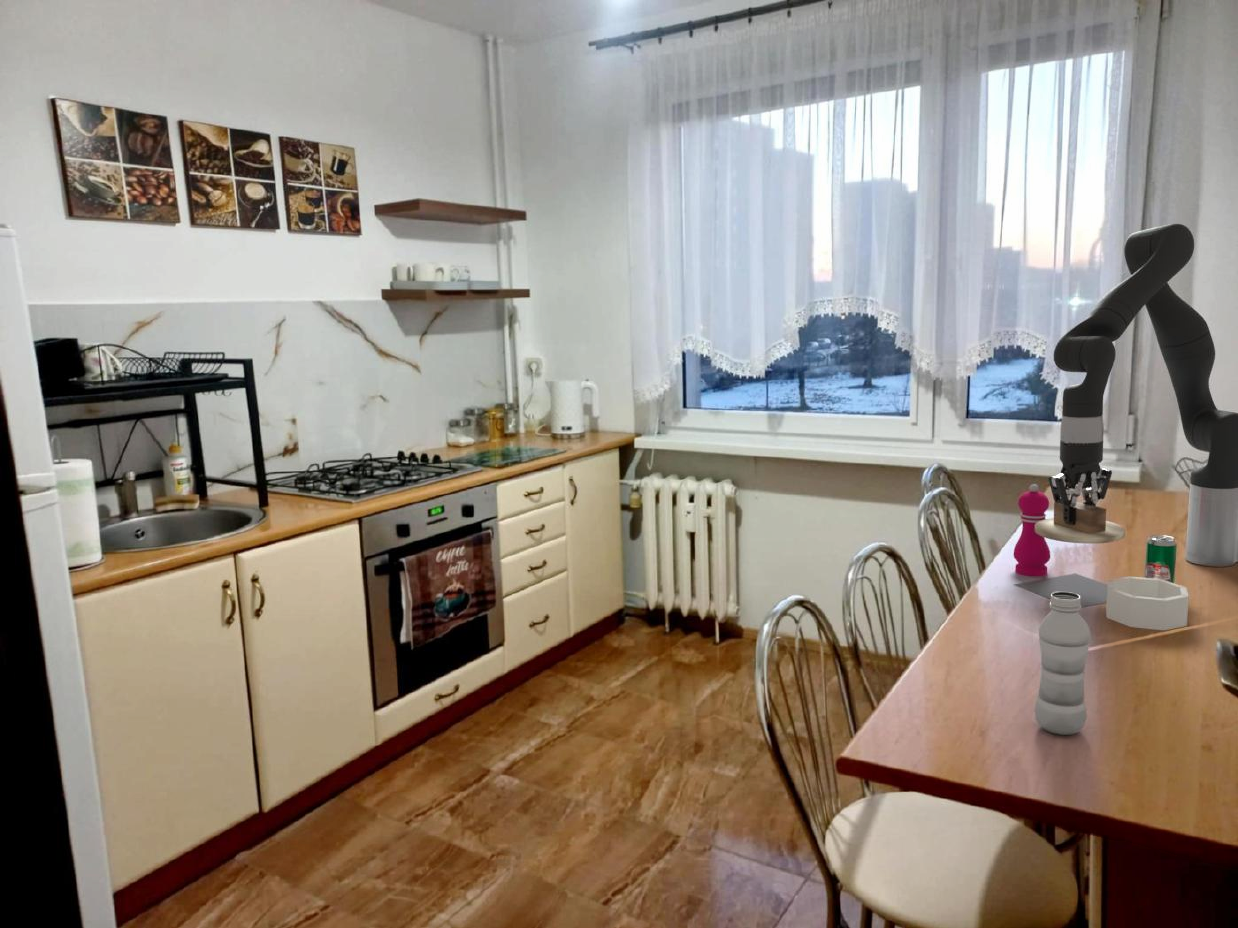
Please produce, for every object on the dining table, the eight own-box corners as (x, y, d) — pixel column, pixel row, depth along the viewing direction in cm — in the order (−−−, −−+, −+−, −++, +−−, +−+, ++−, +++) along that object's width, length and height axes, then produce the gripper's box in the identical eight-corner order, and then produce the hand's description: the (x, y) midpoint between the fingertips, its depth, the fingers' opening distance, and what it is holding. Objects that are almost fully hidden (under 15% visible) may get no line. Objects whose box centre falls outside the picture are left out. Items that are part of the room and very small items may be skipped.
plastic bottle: (1024, 720, 127) (1029, 590, 124) (1069, 716, 128) (1074, 586, 124) (1049, 742, 121) (1055, 605, 117) (1096, 738, 122) (1103, 601, 118)
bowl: (1142, 603, 170) (1143, 573, 169) (1202, 624, 158) (1204, 593, 157) (1090, 613, 166) (1091, 583, 165) (1148, 636, 155) (1149, 603, 154)
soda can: (1140, 597, 173) (1143, 538, 171) (1146, 590, 177) (1150, 533, 175) (1170, 602, 170) (1173, 542, 168) (1175, 595, 173) (1179, 536, 171)
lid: (1078, 518, 185) (1079, 492, 184) (1144, 535, 170) (1145, 508, 169) (1016, 528, 181) (1017, 503, 180) (1078, 548, 166) (1079, 519, 165)
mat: (1075, 575, 188) (1075, 573, 188) (1139, 598, 173) (1139, 595, 173) (1013, 586, 183) (1013, 584, 183) (1074, 610, 168) (1074, 608, 168)
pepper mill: (1053, 579, 186) (1057, 487, 182) (1017, 579, 188) (1020, 488, 184) (1044, 568, 193) (1047, 480, 189) (1009, 568, 195) (1012, 480, 191)
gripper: (1094, 431, 177) (1092, 513, 181) (1037, 439, 173) (1036, 523, 177) (1126, 436, 170) (1122, 521, 174) (1067, 444, 166) (1065, 532, 169)
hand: (1079, 522), depth 175 cm, fingers closed on lid, 4 cm apart
